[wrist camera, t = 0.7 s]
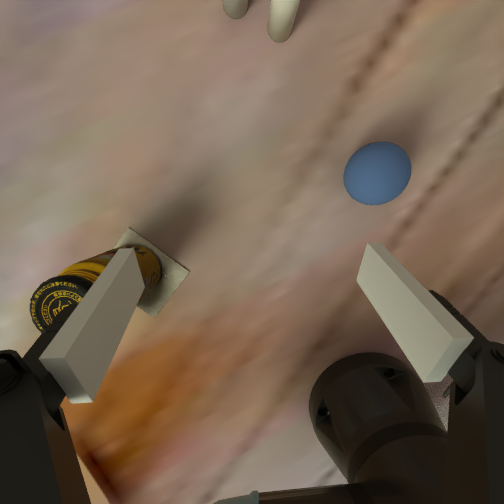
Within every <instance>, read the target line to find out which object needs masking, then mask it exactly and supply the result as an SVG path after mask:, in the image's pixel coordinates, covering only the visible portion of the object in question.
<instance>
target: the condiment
mask: <svg viewBox="0 0 504 504" xmlns="http://www.w3.org/2000/svg"><path fill="white" fill-rule="evenodd" d="M125 248H134V251H135V254H136V258H137V261H138V265H139V268H140V272H141V275H142V279H143V282H144V286H145V288H144V290H143V292H142V295H141V297H140V299H139V301H138V303H137V306H138V307H139V308H141V309H142V310H143V311H145V312H146V313H147V314H149V315H150V316H152V317H153V318H154V317H155V316H156V315H157V313H158V312H159V311H160V310H161V308H162V307H163V306H164V304H165V303H166V302H167V301H168V299H169V298H170V297H171V295H172V294H173V293H174V292H175V290H176V289H177V288H178V286H179V285H180V284H181V283H182V281H183V280H184V279H185V277H186V276H187V275H188V274H189V271H188V270H186V269H185V268H183V267H182V266H181V265H179V264H178V263H176V262H175V261H174V260H172V259H171V258H170V257H168V256H167V255H166V254H164V253H163V252H161V251H160V250H159V249H158V248H156V247H155V246H153V245H152V244H151V243H149V242H148V241H147V240H145V239H144V238H143V237H141V236H140V235H138V234H137V233H136V232H134V231H133V230H131V229H130V228H127V230H126V231H125V232H124V234H123V235H122V237H121V238H120V240H119V241H118V243H117V244H116V245H115V247H114V248H113V249H112V250H109V251H107V252H105V253H102V254H100V255H97V256H94V257H92V258H89V259H86V260H83V261H80V262H78V263H75V264H73V265H71V266H69V267H67V268H66V269H64V270H63V271H62V272H61V273H60V274H59V275H58V276H57V277H54V278H51V279H48V280H47V281H45V282H43V283H42V284H41V285H40V286H39V287H38V288H37V290H36V291H35V292H34V294H33V296H32V298H31V299H30V300H31V303H30V313H31V317H32V321H33V323H34V324H35V326H36V327H37V329H38V330H39V331H40V332H41V333H44V330H45V329H46V328H47V327H48V325H50V324H51V322H52V320H53V319H54V318H55V316H56V315H57V314H58V313H59V312H60V311H61V310H63V309H64V308H65V307H67V306H68V305H69V304H79V303H80V302H81V300H82V299H83V297H84V296H85V295H86V293H87V292H88V291H89V289H90V288H91V287H92V285H93V284H94V282H95V281H96V280H97V278H98V277H99V276H100V274H101V273H102V272H103V270H104V269H105V267H106V266H107V265H108V263H109V262H110V261H111V259H112V258H113V256H114V255H115V254H116V252H117V251H118V250H119V249H125ZM164 269H165V274H166V276H167V277H166V278H165V277H164V273H163V271H164Z"/></svg>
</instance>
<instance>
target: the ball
mask: <svg viewBox="0 0 504 504" xmlns="http://www.w3.org/2000/svg"><path fill="white" fill-rule="evenodd" d="M410 176H411V163H410V159H409V157H408V155H407V154H406V152H405V151H404V150H403V149H402V148H400V147H399V146H397V145H395V144H393V143H389V142H375V143H371V144H368V145H366V146H364V147H362V148H360V149H359V150H358V151H356V152H355V153H354V154H353V155H352V157H351V158H350V159H349V161H348V163H347V165H346V167H345V171H344V185H345V188H346V190H347V192H348V193H349V195H350V196H351V197H352V198H353V199H355V200H356V201H358V202H360V203H362V204H366V205H380V204H384V203H387V202H389V201H391V200H393V199H394V198H396V197H397V196H399V195H400V194H401V193H402V191H403V190H404V189H405V188H406V186H407V184H408V182H409V180H410Z"/></svg>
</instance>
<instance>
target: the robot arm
mask: <svg viewBox="0 0 504 504" xmlns="http://www.w3.org/2000/svg"><path fill="white" fill-rule="evenodd" d="M356 281H357V282H358V284H359V285H360V287H361V288H362V290H363V291H364V293H365V294H366V296H367V297H368V299H369V300H370V302H371V304H372V305H373V307H374V308H375V310H376V311H377V313H378V314H379V316H380V317H381V319H382V320H383V322H384V323H385V325H386V326H387V328H388V329H389V331H390V332H391V334H392V335H393V337H394V338H395V340H396V342H397V343H398V345H399V346H400V348H401V349H402V351H403V352H404V354H405V355H406V357H407V358H408V360H409V361H410V363H411V364H412V366H413V367H414V369H415V370H416V372H417V373H418V375H419V376H420V378H421V380H422V381H423V383H425V382H441V381H442V380H443V378H444V377H445V376H446V375H447V373H449V375H450V376H451V377H452V379H453V380H454V381H453V382H452V383H451V384H450V386H449V387H448V388H447V389H446V391H445V392H444V394H443V396H442V397H444V398H446V397H447V396H448V394H450V401H449V416H448V432H447V431H446V429H445V427H444V425H443V423H442V421H441V419H440V417H439V415H438V413H437V410H436V408H435V406H434V404H433V402H432V400H431V398H430V396H429V394H428V392H427V390H426V388H425V386H424V385H423V383H422V382H421V381H420V379H419V378H418V377H417V376H416V375H415V374H414V373H413V372H412V371H411V370H410V369H409V368H408V367H407V366H406V365H405V364H404V363H402V362H401V361H399V360H398V359H396V358H394V357H391V356H388V355H385V354H379V353H362V354H357V355H353V356H349V357H347V358H344V359H342V360H340V361H338V362H337V363H335V364H333V365H332V366H331V367H329V368H328V369H327V370H326V371H325V372H324V373H323V374H322V375H321V376H320V377H319V379H318V380H317V382H316V383H315V385H314V387H313V389H312V392H311V395H310V399H309V413H310V418H311V421H312V424H313V427H314V430H315V433H316V435H317V438H318V439H319V441H320V443H321V444H322V446H323V447H324V448H325V450H326V451H327V453H328V454H329V456H330V457H331V458H332V460H333V461H334V463H335V464H336V465H337V467H338V468H339V470H340V471H341V472H342V474H343V475H344V477H345V478H346V479H347V481H348V484H344V485H343V484H340V485H331V486H321V487H311V488H301V489H291V490H282V491H272V492H262V493H258V491H252V492H251V493H250V494H249V495H244V496H239V497H233V498H228V499H223V500H219V501H217V502H215V503H214V504H504V345H503V344H500V343H497V342H490V341H488V340H487V339H486V338H485V337H484V336H483V335H482V334H481V333H480V332H479V331H478V330H477V329H476V328H475V327H474V326H473V325H472V324H471V323H470V322H469V321H468V320H467V319H466V318H465V317H464V316H463V315H460V313H459V312H458V311H457V310H456V309H455V308H453V306H452V305H451V304H450V303H449V302H448V301H447V300H446V299H445V298H444V297H442V296H441V295H439V294H438V293H436V292H434V291H433V290H427V289H426V288H425V287H424V286H423V285H422V284H421V283H420V282H419V281H418V280H417V279H416V278H415V277H414V276H413V275H412V274H411V273H410V272H409V271H408V270H407V269H406V268H405V267H404V266H403V265H402V264H401V263H400V262H399V261H398V260H397V259H396V258H395V257H394V256H393V255H392V254H391V253H390V252H389V251H388V250H387V249H386V248H385V247H384V246H383V245H382V244H381V243H367V246H366V250H365V253H364V256H363V260H362V263H361V266H360V269H359V273H358V276H357V279H356ZM144 288H145V286H144V282H143V279H142V275H141V272H140V268H139V265H138V261H137V258H136V254H135V251H134V248H125V249H119V250H118V251H117V252H116V254H115V255H114V256H113V258H112V259H111V261H110V262H109V263H108V265H107V266H106V267H105V269H104V270H103V272H102V273H101V274H100V276H99V277H98V278H97V280H96V281H95V282H94V284H93V285H92V287H91V288H90V289H89V291H88V292H87V293H86V295H85V296H84V297H83V299H82V300H81V302H80V303H79V304H69V305H68V306H67V307H65V308H64V309H63V310H61V311H60V312H59V313H58V314H57V315H56V316H55V318H54V319H53V320H52V322H51V324H50V325H48V327H47V328H46V329H45V330H44V333H42V334H41V335H40V337H39V338H38V339H37V340H36V342H35V343H34V344H33V345H32V347H31V348H30V349H29V350H28V352H27V353H26V354H25V355H24V357H23V358H21V356H20V355H19V354H18V353H17V351H14V350H2V351H0V504H91V502H90V498H89V495H88V492H87V488H86V485H85V482H84V478H83V475H82V472H81V469H80V465H79V462H78V459H77V455H76V452H75V449H74V445H73V442H72V439H71V435H70V432H69V429H68V425H67V422H66V419H65V415H64V412H63V409H62V408H61V407H60V404H61V403H62V401H63V399H64V397H65V395H66V396H67V398H68V399H69V400H70V402H71V403H86V402H93V400H94V398H95V396H96V394H97V391H98V389H99V387H100V385H101V383H102V380H103V378H104V376H105V374H106V372H107V369H108V367H109V365H110V363H111V361H112V358H113V356H114V354H115V352H116V350H117V347H118V345H119V343H120V341H121V339H122V336H123V334H124V332H125V330H126V328H127V325H128V323H129V321H130V319H131V317H132V314H133V312H134V310H135V308H136V306H137V303H138V301H139V299H140V297H141V295H142V292H143V290H144Z"/></svg>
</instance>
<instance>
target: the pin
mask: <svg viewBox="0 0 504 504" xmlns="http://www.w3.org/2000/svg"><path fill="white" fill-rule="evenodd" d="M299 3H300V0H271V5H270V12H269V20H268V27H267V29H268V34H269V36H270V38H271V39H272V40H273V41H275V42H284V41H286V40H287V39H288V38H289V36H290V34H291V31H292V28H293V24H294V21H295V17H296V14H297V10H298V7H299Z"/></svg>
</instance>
